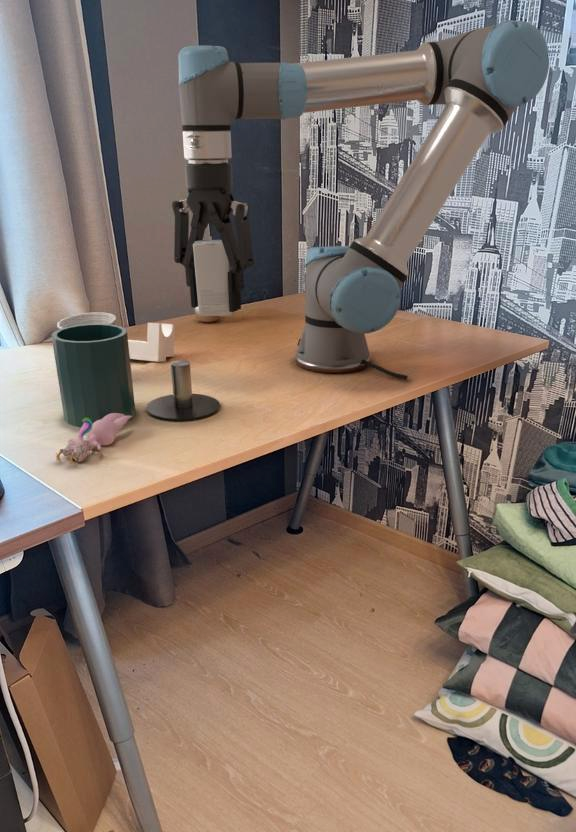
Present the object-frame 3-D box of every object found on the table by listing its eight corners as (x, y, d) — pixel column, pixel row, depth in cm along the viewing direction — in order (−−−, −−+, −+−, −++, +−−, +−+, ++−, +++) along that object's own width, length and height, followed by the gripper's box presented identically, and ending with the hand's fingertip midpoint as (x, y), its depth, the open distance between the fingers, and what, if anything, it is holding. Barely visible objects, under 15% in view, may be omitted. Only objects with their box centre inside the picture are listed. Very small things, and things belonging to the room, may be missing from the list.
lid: (233, 406, 127) (232, 358, 123) (194, 430, 117) (190, 378, 113) (174, 395, 132) (170, 348, 128) (131, 417, 122) (126, 367, 118)
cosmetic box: (234, 310, 128) (232, 238, 122) (232, 317, 124) (229, 242, 118) (200, 311, 128) (195, 238, 122) (197, 317, 124) (192, 242, 118)
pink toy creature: (83, 477, 104) (145, 428, 114) (73, 442, 101) (138, 394, 111) (51, 469, 107) (114, 421, 117) (40, 434, 103) (106, 388, 113)
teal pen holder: (149, 412, 124) (141, 328, 117) (105, 436, 114) (93, 346, 108) (96, 402, 128) (86, 320, 121) (50, 424, 119) (35, 336, 112)
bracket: (173, 361, 153) (174, 324, 152) (157, 361, 147) (159, 323, 145) (119, 355, 157) (120, 319, 155) (101, 355, 150) (102, 318, 149)
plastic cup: (54, 381, 138) (44, 318, 133) (102, 369, 145) (94, 309, 140) (86, 394, 132) (77, 329, 126) (134, 380, 139) (128, 318, 133)
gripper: (142, 161, 115) (156, 306, 126) (251, 164, 107) (255, 318, 118) (170, 159, 121) (180, 298, 132) (274, 161, 113) (276, 309, 124)
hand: (216, 307), depth 125 cm, fingers closed on cosmetic box, 7 cm apart
